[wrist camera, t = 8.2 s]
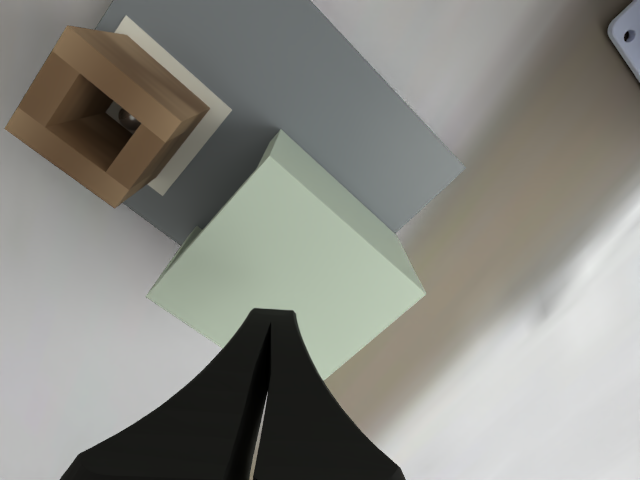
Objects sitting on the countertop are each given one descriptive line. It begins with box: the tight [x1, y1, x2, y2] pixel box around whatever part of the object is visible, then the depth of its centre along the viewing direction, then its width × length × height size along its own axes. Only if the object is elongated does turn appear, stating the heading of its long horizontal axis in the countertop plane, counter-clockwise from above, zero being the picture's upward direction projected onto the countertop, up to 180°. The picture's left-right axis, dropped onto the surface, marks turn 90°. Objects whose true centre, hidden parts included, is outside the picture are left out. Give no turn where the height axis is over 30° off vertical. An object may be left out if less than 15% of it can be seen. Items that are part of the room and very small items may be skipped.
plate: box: [95, 0, 466, 245], centre depth 20 cm, size 16×13×1 cm
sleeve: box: [5, 26, 210, 208], centre depth 16 cm, size 4×4×5 cm
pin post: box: [118, 108, 141, 130], centre depth 18 cm, size 1×1×2 cm
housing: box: [146, 130, 426, 381], centre depth 18 cm, size 8×7×6 cm
